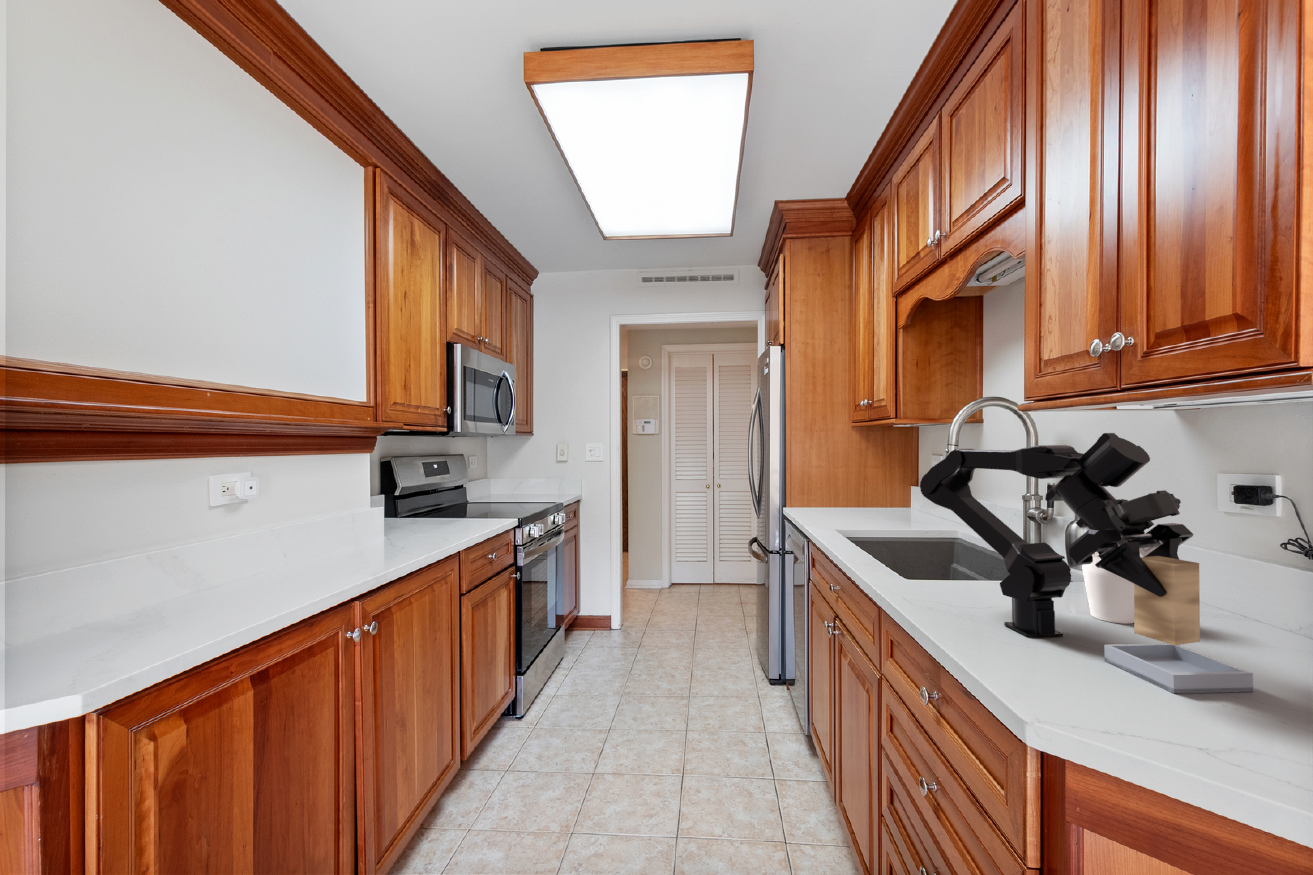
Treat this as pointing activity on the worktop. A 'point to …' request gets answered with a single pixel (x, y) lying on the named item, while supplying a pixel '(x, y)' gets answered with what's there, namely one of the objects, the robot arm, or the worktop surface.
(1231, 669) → the dish
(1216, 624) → the worktop surface
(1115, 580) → the cup
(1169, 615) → the oak block
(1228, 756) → the worktop surface
